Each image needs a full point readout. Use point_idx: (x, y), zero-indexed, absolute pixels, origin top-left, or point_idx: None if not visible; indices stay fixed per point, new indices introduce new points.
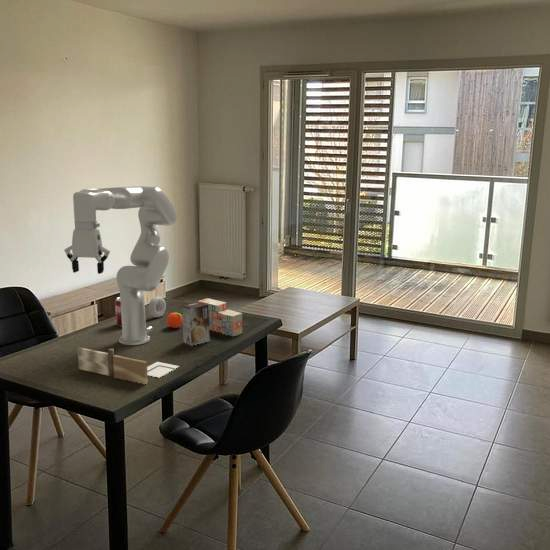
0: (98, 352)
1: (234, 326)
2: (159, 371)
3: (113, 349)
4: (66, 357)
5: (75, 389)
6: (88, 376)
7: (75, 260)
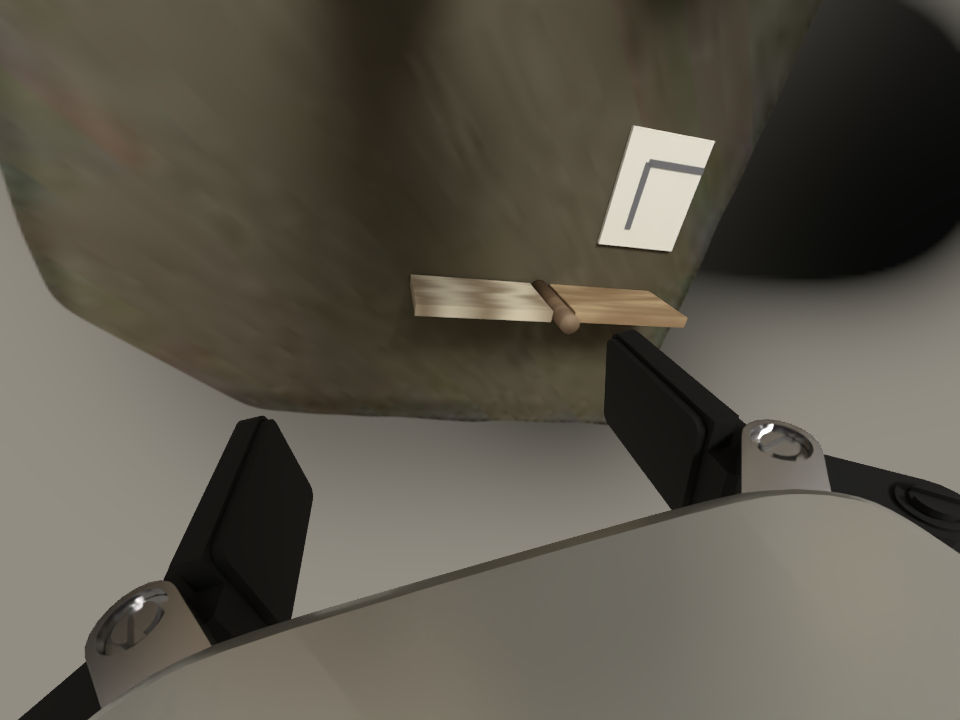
0: (513, 319)
1: None
2: (662, 210)
3: (578, 320)
4: (270, 201)
5: (491, 385)
6: None
7: (246, 632)
